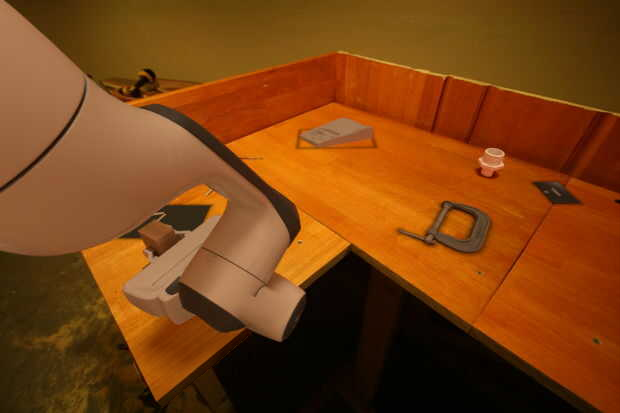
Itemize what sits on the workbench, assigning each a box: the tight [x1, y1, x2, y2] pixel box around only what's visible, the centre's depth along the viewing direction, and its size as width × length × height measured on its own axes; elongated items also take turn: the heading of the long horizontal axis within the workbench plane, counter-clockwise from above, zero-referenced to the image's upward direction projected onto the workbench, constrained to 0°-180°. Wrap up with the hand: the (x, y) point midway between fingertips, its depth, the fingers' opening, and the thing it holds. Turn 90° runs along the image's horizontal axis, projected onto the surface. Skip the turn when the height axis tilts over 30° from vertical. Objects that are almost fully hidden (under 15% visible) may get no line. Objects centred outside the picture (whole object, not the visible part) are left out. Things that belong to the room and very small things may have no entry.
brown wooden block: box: [138, 220, 179, 270], centre depth 55 cm, size 8×5×10 cm, turn 149°
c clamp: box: [398, 199, 491, 254], centre depth 76 cm, size 20×17×3 cm
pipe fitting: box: [477, 147, 506, 177], centre depth 92 cm, size 6×7×8 cm
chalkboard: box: [117, 204, 212, 239], centre depth 80 cm, size 22×13×1 cm, turn 88°
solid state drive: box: [533, 181, 581, 205], centre depth 85 cm, size 7×10×1 cm
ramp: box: [298, 117, 374, 149], centre depth 114 cm, size 28×16×5 cm, turn 89°
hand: (158, 242), depth 54 cm, fingers closed on brown wooden block, 3 cm apart
